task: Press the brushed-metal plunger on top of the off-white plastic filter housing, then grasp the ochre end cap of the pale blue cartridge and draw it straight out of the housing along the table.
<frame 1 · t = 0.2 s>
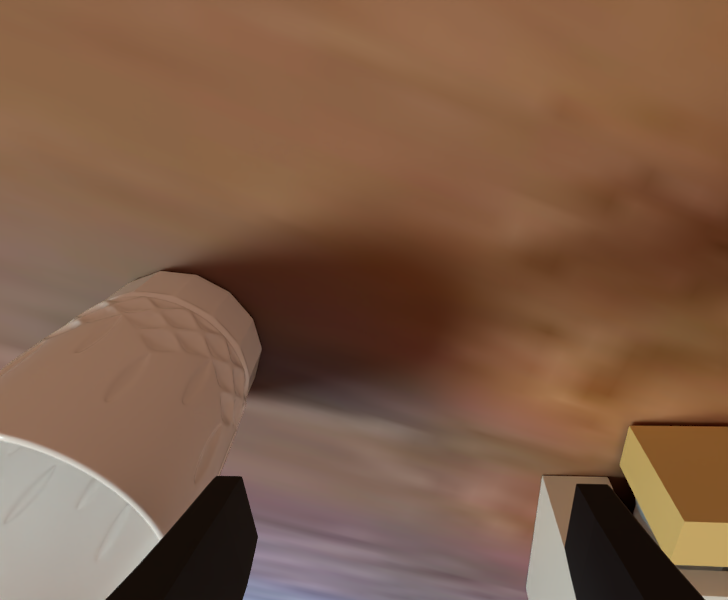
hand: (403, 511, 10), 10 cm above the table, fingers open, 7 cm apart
cartridge: (681, 553, 21), point 3 cm above the table, slide at 0.0 cm
housing: (643, 540, 24), on the table
white cup: (190, 335, 21), on the table
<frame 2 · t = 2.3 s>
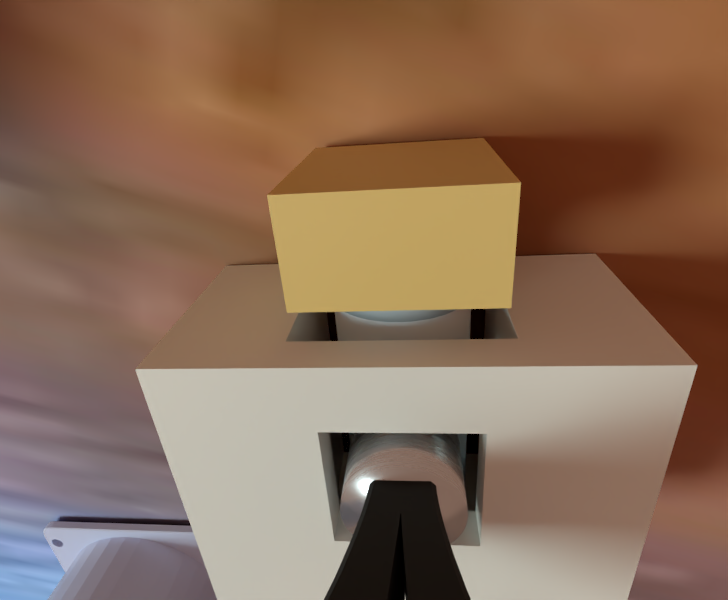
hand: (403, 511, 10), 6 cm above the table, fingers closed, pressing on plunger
cartridge: (403, 358, 13), point 3 cm above the table, slide at 0.0 cm
housing: (407, 381, 16), on the table
plunger: (403, 478, 11), point 5 cm above the table, slide at 0.9 cm, touching gripper
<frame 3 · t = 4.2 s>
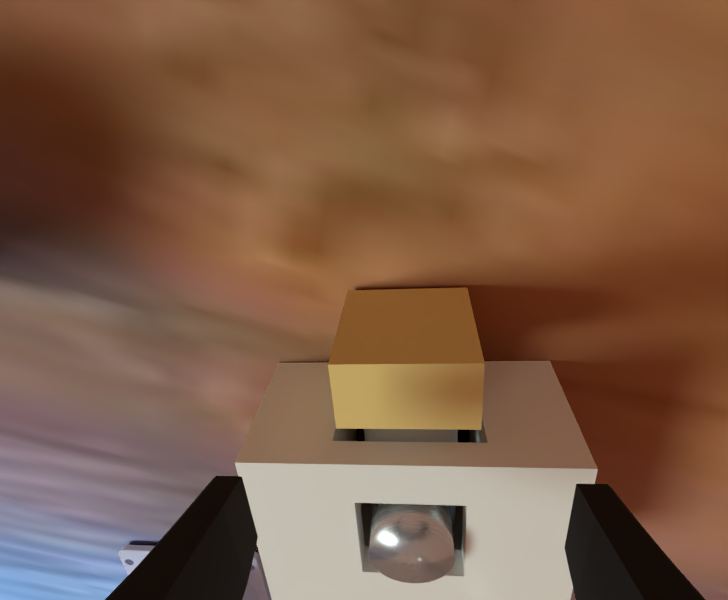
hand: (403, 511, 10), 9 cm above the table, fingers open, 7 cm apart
cartridge: (410, 440, 18), point 3 cm above the table, slide at 0.0 cm
housing: (412, 444, 21), on the table
plunger: (411, 529, 16), point 5 cm above the table, slide at 0.9 cm
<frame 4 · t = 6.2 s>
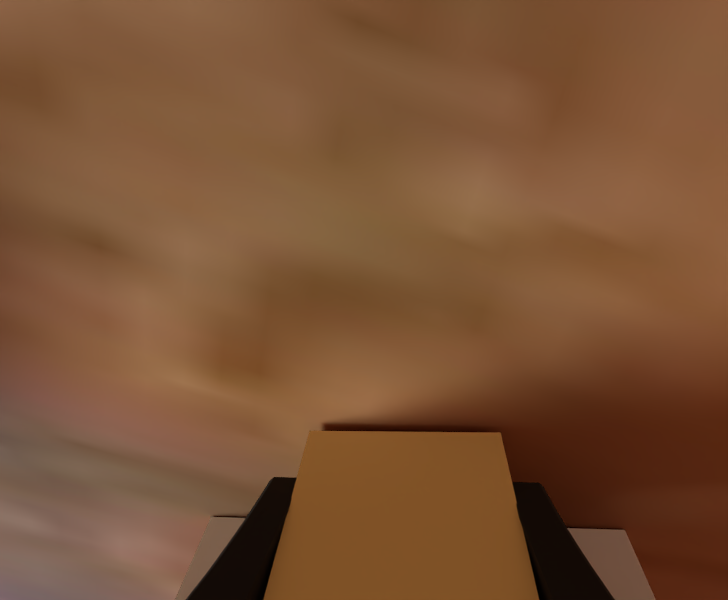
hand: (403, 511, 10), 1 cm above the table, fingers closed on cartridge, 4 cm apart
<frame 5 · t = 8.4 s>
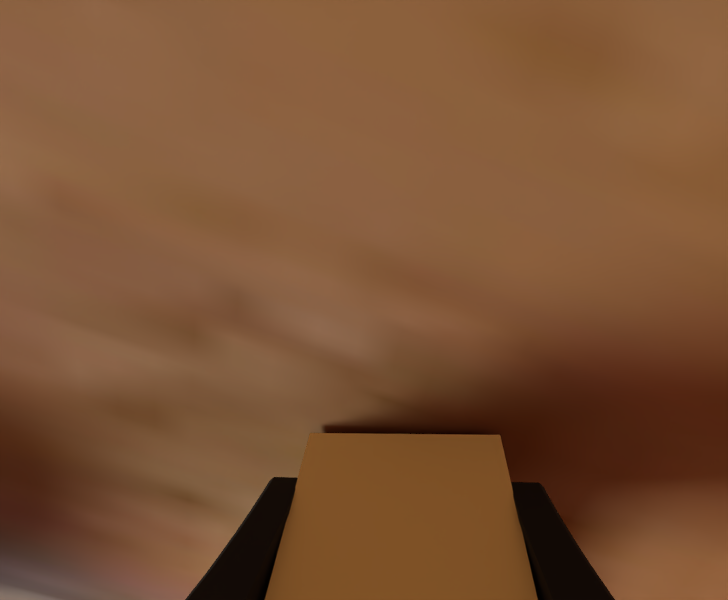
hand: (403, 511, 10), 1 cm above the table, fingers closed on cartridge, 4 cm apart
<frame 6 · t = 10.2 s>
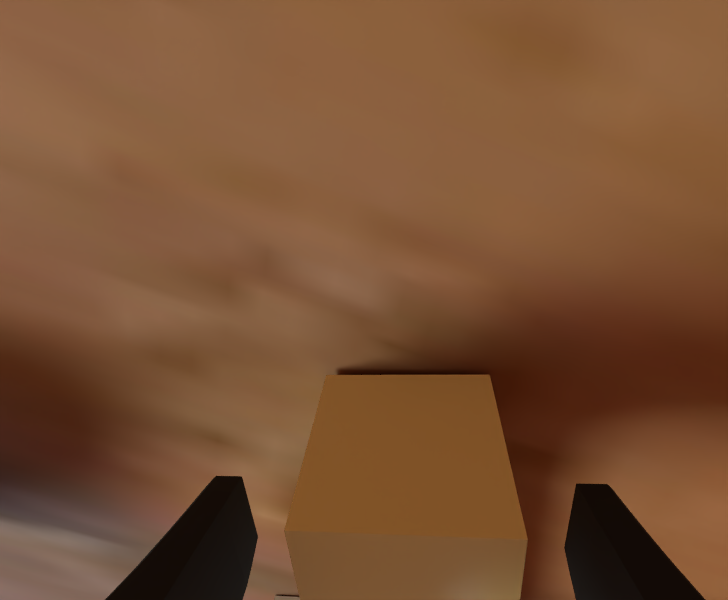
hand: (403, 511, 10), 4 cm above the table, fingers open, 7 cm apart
cartridge: (411, 578, 13), point 3 cm above the table, slide at 7.4 cm
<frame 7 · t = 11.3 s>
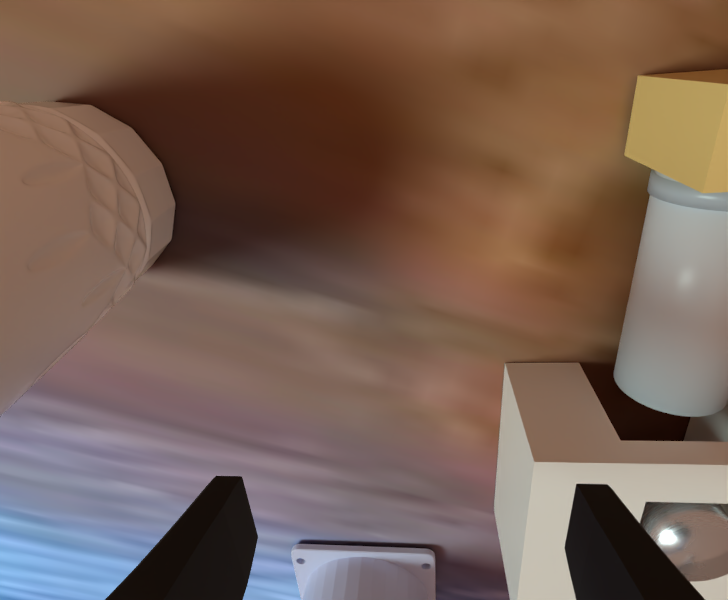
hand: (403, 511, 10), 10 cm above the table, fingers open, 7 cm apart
cartridge: (713, 258, 15), point 3 cm above the table, slide at 7.4 cm
housing: (623, 444, 21), on the table
white cup: (95, 193, 18), on the table
plunger: (685, 528, 17), point 5 cm above the table, slide at 0.9 cm
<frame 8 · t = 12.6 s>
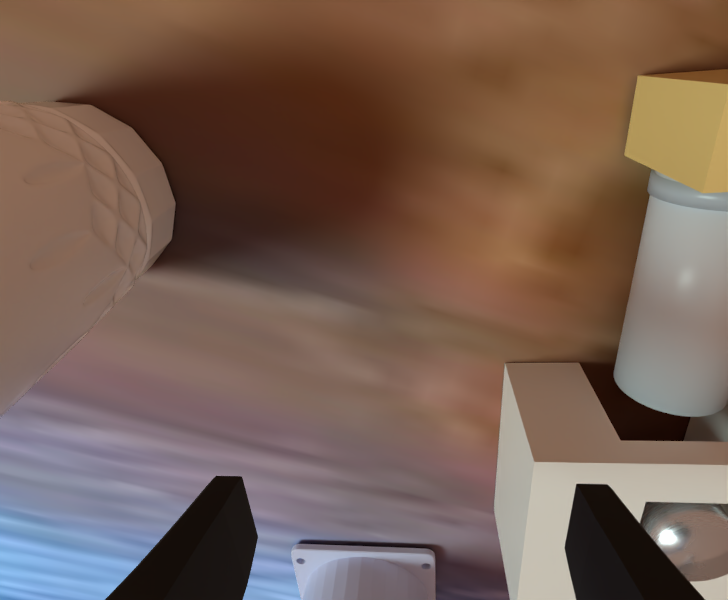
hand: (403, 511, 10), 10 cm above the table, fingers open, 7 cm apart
cartridge: (713, 258, 15), point 3 cm above the table, slide at 7.4 cm
housing: (623, 444, 21), on the table
white cup: (95, 193, 18), on the table
plunger: (685, 528, 17), point 5 cm above the table, slide at 0.9 cm
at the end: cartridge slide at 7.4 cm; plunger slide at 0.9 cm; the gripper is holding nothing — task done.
